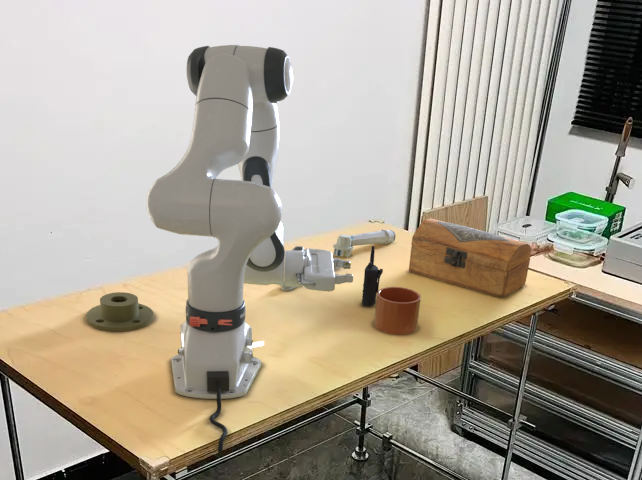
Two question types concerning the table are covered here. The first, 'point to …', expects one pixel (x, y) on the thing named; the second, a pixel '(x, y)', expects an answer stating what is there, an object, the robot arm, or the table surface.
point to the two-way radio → (371, 282)
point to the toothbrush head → (361, 241)
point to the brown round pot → (397, 310)
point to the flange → (119, 313)
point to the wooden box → (469, 258)
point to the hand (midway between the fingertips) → (351, 271)
